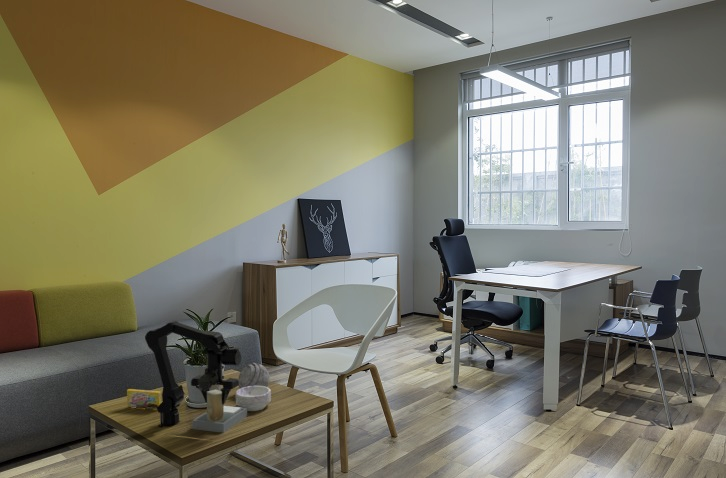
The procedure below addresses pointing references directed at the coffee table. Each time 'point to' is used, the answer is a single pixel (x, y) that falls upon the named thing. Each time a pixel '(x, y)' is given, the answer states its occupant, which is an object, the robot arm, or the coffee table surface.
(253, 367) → the decorative orb
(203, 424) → the tote
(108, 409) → the coffee table surface
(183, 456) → the coffee table surface
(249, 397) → the paper bowls
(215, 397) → the skincare box
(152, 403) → the candy box
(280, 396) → the coffee table surface
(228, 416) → the white rectangular block
